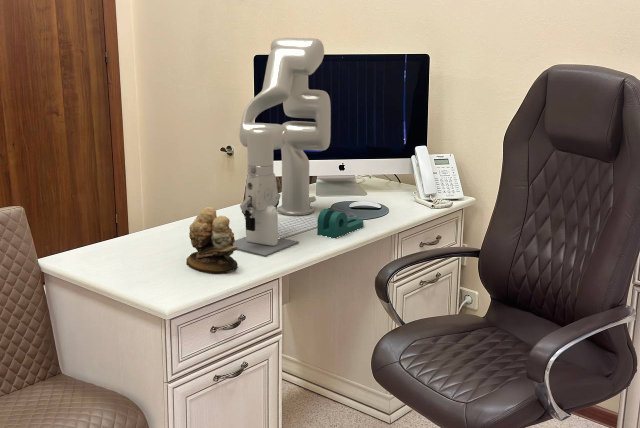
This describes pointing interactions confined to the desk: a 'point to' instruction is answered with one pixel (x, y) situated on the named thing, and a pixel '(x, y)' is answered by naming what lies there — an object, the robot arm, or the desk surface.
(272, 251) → the mat
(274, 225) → the photo printer
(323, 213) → the bracket
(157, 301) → the desk surface
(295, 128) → the robot arm
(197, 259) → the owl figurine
